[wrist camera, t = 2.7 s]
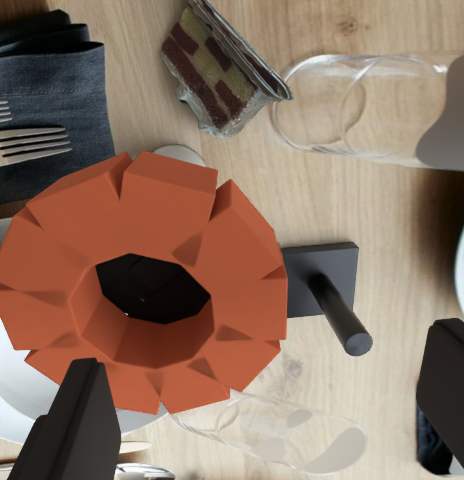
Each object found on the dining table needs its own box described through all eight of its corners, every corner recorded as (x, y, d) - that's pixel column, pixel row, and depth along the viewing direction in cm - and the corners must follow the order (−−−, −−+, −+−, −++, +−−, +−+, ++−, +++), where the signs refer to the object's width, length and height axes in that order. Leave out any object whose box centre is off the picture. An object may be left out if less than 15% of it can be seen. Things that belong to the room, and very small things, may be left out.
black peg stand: (280, 248, 38) (313, 308, 28) (353, 241, 39) (412, 298, 28) (280, 311, 41) (309, 387, 31) (347, 304, 42) (399, 377, 31)
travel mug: (224, 178, 35) (257, 278, 16) (174, 221, 36) (152, 359, 18) (180, 126, 32) (161, 175, 14) (128, 173, 34) (48, 275, 15)
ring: (-7, 157, 14) (-61, 180, 11) (279, 143, 13) (291, 163, 11) (68, 370, 19) (43, 419, 16) (277, 362, 18) (284, 410, 16)
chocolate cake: (126, 47, 30) (182, 152, 26) (176, -32, 27) (250, 74, 22) (202, 89, 38) (255, 175, 33) (249, 32, 34) (314, 120, 30)
